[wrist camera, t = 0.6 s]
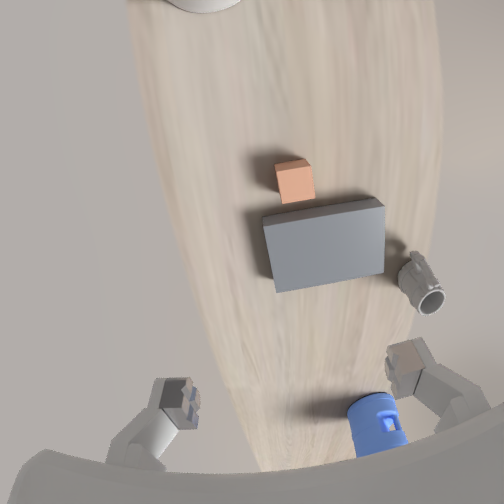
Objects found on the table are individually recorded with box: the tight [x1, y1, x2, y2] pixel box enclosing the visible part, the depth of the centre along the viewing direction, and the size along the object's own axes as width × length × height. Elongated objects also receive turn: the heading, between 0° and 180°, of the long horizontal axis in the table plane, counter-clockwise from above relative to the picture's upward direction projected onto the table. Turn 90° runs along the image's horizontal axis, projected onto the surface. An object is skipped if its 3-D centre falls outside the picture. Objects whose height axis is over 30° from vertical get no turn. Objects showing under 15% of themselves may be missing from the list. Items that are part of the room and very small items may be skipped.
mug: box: [398, 251, 446, 316], centre depth 50 cm, size 8×12×12 cm, turn 23°
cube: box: [274, 159, 315, 204], centre depth 45 cm, size 5×5×5 cm
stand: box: [262, 198, 385, 293], centre depth 51 cm, size 13×20×4 cm, turn 101°
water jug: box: [347, 393, 408, 458], centre depth 69 cm, size 16×16×28 cm
